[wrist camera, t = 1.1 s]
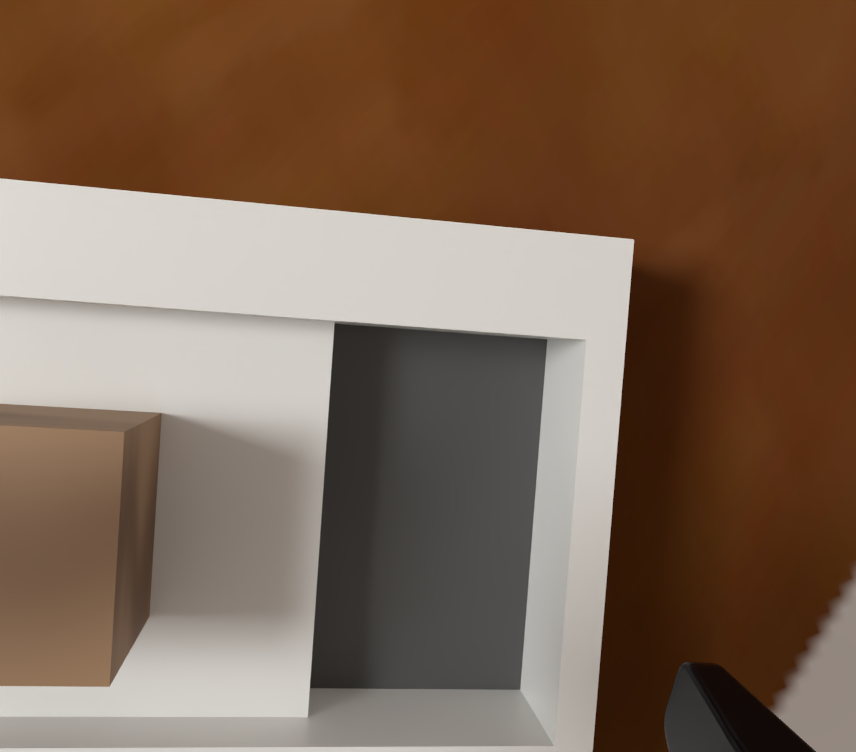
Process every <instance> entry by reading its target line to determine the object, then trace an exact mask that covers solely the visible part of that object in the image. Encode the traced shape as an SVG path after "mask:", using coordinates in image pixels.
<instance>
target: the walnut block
mask: <svg viewBox="0 0 856 752" xmlns="http://www.w3.org/2000/svg"><path fill="white" fill-rule="evenodd" d="M161 415H162V413H156V412H138V411H120V410H103V409H85V408H67V407H50V406H32V405H14V404H0V686H65V687H110V685H111V683H112V682H113V680H114V678H115V676H116V674H117V673H118V671H119V669H120V667H121V666H122V664H123V662H124V660H125V659H126V657H127V655H128V653H129V652H130V650H131V648H132V646H133V645H134V643H135V641H136V639H137V638H138V636H139V634H140V632H141V630H142V629H143V627H144V625H145V623H146V622H147V620H148V618H149V615H150V598H151V582H152V565H153V548H154V532H155V515H156V498H157V482H158V465H159V448H160V432H161Z"/></svg>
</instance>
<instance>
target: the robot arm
mask: <svg viewBox="0 0 856 752" xmlns="http://www.w3.org/2000/svg"><path fill="white" fill-rule="evenodd" d="M664 725H665V734H666V740H667V745H668V750H669V752H816V751H814V750H813V749H812V748H811V747H810V746H809V745H808V744H807V743H806V742H805V741H803V740H802V739H801V738H800V737H799V736H798V735H797V734H796V733H795V732H793V731H792V730H791V729H790V728H789V727H788V726H787V725H786V724H785V723H784V722H782V721H781V720H780V719H779V718H778V717H777V716H776V715H775V714H774V713H772V712H771V711H770V710H769V709H768V708H767V707H766V706H765V705H764V704H763V703H761V702H760V701H759V700H758V699H757V698H756V697H755V696H754V695H753V694H751V693H750V692H749V691H748V690H747V689H746V688H745V687H744V686H743V685H741V684H740V683H739V682H738V681H737V680H736V679H735V678H734V677H733V676H732V675H730V674H729V673H728V672H727V671H726V670H725V669H724V668H722V667H721V666H719V665H718V664H714V663H702V662H686V663H683V664H682V665H681V666H680V668H679V670H678V672H677V676H676V679H675V682H674V685H673V689H672V692H671V695H670V698H669V702H668V705H667V708H666V712H665V721H664Z"/></svg>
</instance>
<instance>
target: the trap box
mask: <svg viewBox="0 0 856 752" xmlns="http://www.w3.org/2000/svg"><path fill="white" fill-rule="evenodd" d="M633 247H634V239H624V238H613V237H603V236H592V235H582V234H572V233H561V232H551V231H540V230H530V229H520V228H509V227H499V226H488V225H478V224H468V223H457V222H447V221H436V220H426V219H416V218H405V217H395V216H384V215H374V214H364V213H353V212H343V211H333V210H322V209H312V208H301V207H291V206H281V205H270V204H260V203H249V202H239V201H229V200H218V199H208V198H197V197H187V196H177V195H166V194H156V193H145V192H135V191H125V190H114V189H104V188H93V187H83V186H73V185H62V184H52V183H41V182H31V181H21V180H10V179H0V404H14V405H32V406H50V407H67V408H85V409H103V410H120V411H138V412H156V413H162V415H161V432H160V448H159V465H158V482H157V498H156V515H155V532H154V548H153V565H152V582H151V598H150V615H149V618H148V620H147V622H146V623H145V625H144V627H143V629H142V630H141V632H140V634H139V636H138V638H137V639H136V641H135V643H134V645H133V646H132V648H131V650H130V652H129V653H128V655H127V657H126V659H125V660H124V662H123V664H122V666H121V667H120V669H119V671H118V673H117V674H116V676H115V678H114V680H113V682H112V683H111V685H110V687H65V686H0V752H593V742H594V729H595V717H596V705H597V692H598V680H599V668H600V655H601V643H602V630H603V618H604V606H605V593H606V581H607V569H608V556H609V544H610V532H611V519H612V507H613V495H614V482H615V470H616V458H617V445H618V433H619V420H620V408H621V396H622V383H623V371H624V359H625V346H626V334H627V322H628V309H629V297H630V285H631V272H632V260H633Z"/></svg>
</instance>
